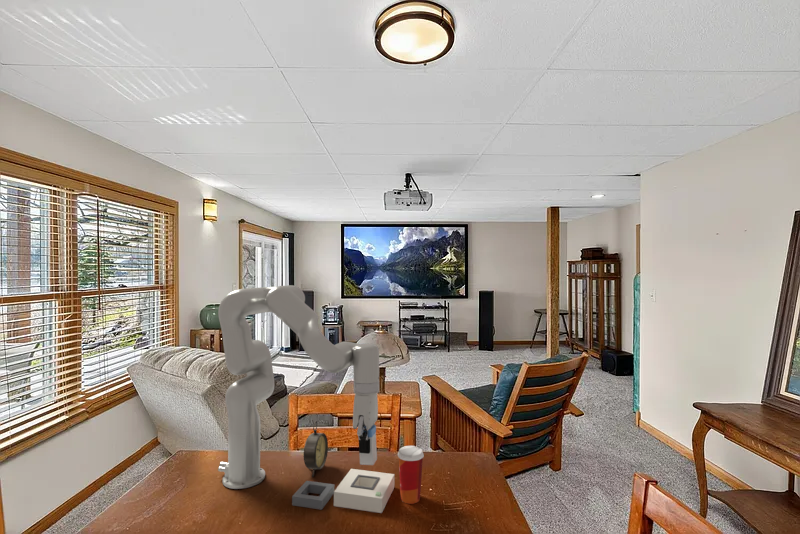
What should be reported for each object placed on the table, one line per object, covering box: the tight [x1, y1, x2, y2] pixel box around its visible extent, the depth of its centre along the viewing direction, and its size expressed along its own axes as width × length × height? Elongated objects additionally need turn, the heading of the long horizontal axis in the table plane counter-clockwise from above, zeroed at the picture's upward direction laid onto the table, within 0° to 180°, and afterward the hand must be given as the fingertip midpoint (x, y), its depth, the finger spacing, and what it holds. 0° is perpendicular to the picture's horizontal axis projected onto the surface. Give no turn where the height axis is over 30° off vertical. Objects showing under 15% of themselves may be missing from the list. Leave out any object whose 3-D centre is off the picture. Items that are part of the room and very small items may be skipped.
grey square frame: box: [291, 480, 335, 511], centre depth 122 cm, size 9×9×2 cm
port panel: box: [333, 468, 395, 514], centre depth 124 cm, size 14×14×4 cm
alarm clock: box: [303, 420, 329, 478], centre depth 139 cm, size 11×5×16 cm, turn 168°
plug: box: [357, 424, 378, 466], centre depth 124 cm, size 4×4×10 cm
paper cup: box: [396, 445, 425, 505], centre depth 123 cm, size 8×8×14 cm
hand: (367, 448), depth 124 cm, fingers closed on plug, 4 cm apart
